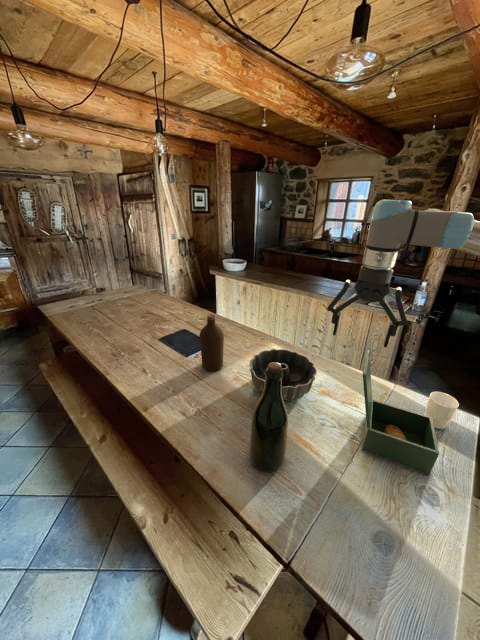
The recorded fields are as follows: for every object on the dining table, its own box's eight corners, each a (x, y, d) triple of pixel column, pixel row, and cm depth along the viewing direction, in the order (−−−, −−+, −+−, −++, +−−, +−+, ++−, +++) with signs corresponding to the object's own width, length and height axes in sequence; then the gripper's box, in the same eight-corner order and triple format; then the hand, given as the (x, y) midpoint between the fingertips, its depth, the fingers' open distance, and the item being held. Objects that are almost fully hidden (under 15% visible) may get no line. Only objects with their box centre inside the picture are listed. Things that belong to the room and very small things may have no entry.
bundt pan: (283, 360, 125) (285, 342, 121) (327, 392, 105) (331, 372, 101) (236, 379, 112) (236, 359, 108) (276, 419, 92) (278, 397, 88)
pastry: (380, 425, 90) (383, 417, 88) (402, 431, 88) (406, 423, 86) (383, 448, 82) (386, 439, 80) (408, 455, 80) (412, 446, 78)
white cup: (426, 428, 90) (435, 405, 86) (417, 411, 97) (426, 389, 93) (452, 432, 88) (463, 410, 84) (442, 415, 95) (452, 393, 91)
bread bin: (423, 437, 87) (432, 417, 83) (428, 475, 75) (439, 453, 71) (365, 418, 94) (370, 398, 90) (361, 450, 82) (368, 429, 78)
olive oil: (209, 375, 114) (207, 323, 103) (196, 364, 122) (193, 314, 111) (229, 366, 120) (228, 316, 110) (215, 356, 128) (214, 308, 117)
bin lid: (368, 349, 84) (366, 349, 84) (365, 374, 72) (362, 374, 72) (372, 397, 89) (369, 397, 90) (369, 428, 78) (366, 428, 78)
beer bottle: (260, 436, 86) (266, 349, 72) (290, 452, 81) (303, 361, 67) (242, 461, 78) (245, 368, 64) (274, 480, 73) (285, 384, 59)
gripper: (324, 263, 69) (312, 334, 78) (437, 277, 59) (409, 357, 69) (329, 257, 75) (318, 324, 85) (433, 269, 65) (407, 344, 75)
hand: (359, 339), depth 77 cm, fingers open, 13 cm apart
